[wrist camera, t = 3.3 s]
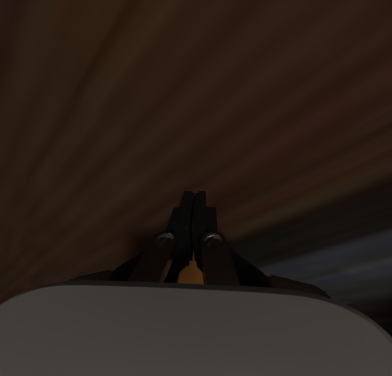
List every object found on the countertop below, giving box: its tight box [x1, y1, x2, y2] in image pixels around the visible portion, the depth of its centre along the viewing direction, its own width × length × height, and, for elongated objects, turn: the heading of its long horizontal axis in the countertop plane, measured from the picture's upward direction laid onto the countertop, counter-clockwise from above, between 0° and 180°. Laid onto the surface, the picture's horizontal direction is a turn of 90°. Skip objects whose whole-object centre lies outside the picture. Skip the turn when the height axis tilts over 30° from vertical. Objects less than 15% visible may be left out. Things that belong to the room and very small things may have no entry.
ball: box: [180, 251, 204, 284], centre depth 14 cm, size 6×6×6 cm
